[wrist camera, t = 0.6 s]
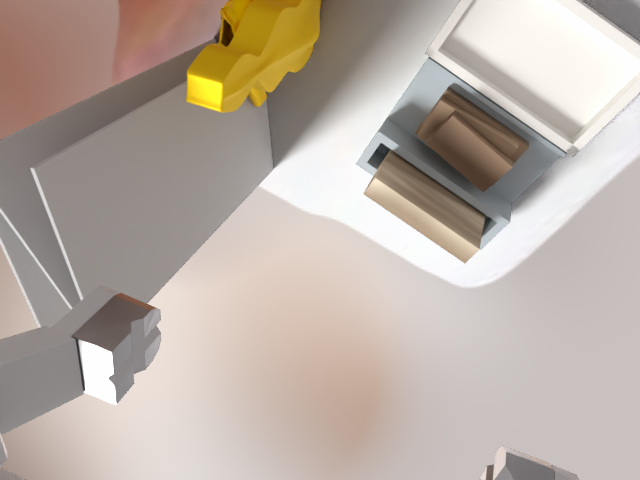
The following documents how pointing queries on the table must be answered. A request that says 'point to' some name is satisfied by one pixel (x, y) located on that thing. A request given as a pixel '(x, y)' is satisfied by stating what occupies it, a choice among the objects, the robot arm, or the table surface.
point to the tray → (543, 63)
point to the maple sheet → (427, 206)
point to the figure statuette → (253, 52)
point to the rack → (405, 143)
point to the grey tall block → (124, 187)
